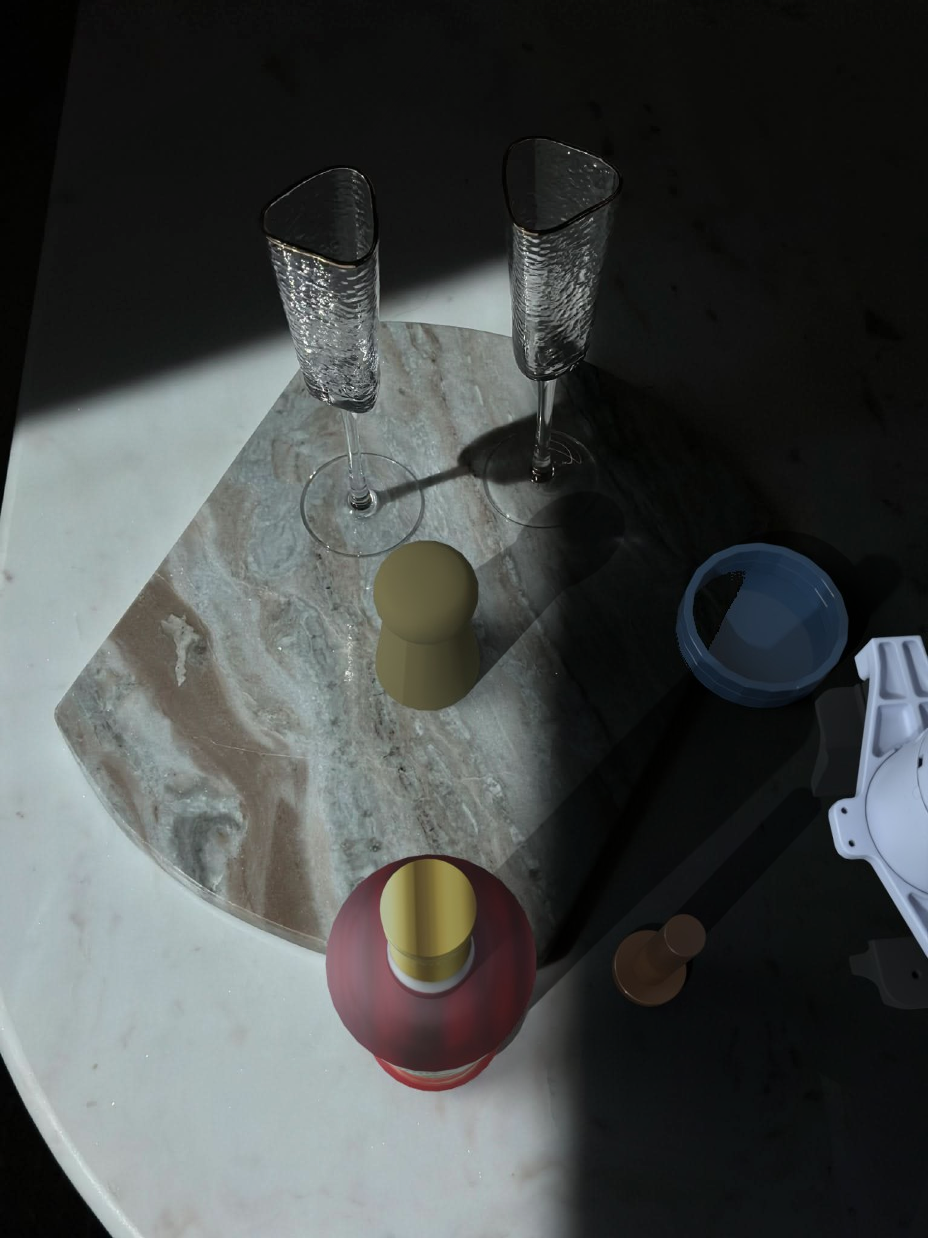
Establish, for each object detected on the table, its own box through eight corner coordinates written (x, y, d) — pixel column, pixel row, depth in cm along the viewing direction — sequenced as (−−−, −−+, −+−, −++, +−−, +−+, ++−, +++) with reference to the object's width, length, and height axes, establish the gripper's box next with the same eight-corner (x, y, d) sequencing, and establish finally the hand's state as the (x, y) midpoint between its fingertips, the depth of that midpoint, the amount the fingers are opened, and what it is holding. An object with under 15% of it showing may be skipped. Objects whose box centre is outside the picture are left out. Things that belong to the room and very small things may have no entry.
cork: (429, 596, 67) (427, 498, 57) (503, 665, 65) (514, 577, 55) (352, 663, 65) (336, 574, 55) (426, 736, 63) (423, 658, 53)
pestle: (694, 955, 59) (740, 918, 50) (664, 1020, 57) (706, 995, 48) (630, 920, 59) (664, 877, 50) (599, 984, 58) (629, 952, 49)
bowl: (854, 610, 67) (871, 587, 64) (796, 738, 64) (812, 719, 61) (712, 543, 69) (723, 517, 66) (648, 664, 65) (657, 643, 63)
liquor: (361, 1102, 55) (293, 1056, 30) (359, 945, 58) (295, 784, 33) (513, 1094, 56) (572, 1041, 30) (503, 938, 59) (549, 773, 33)
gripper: (835, 592, 40) (732, 721, 53) (942, 1030, 34) (797, 1060, 47) (1028, 581, 41) (881, 712, 53) (1165, 1009, 35) (964, 1044, 47)
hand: (852, 874), depth 50 cm, fingers open, 7 cm apart
